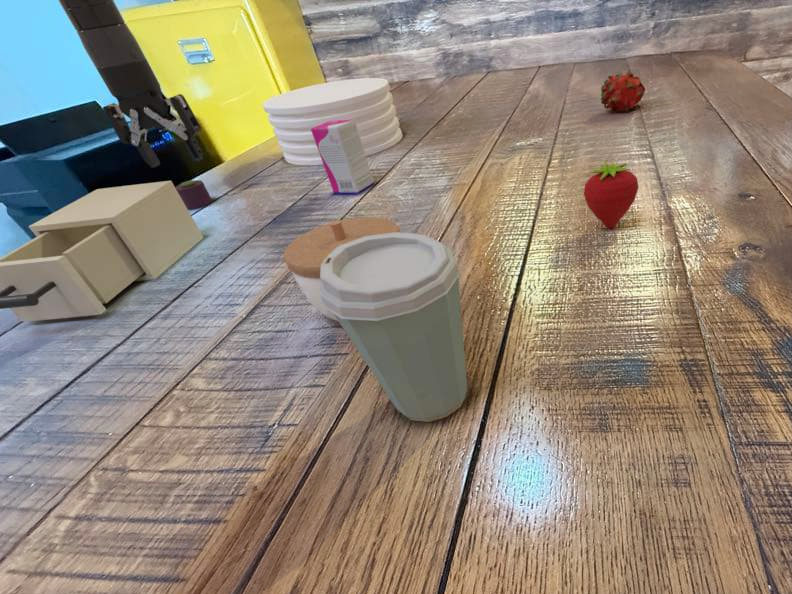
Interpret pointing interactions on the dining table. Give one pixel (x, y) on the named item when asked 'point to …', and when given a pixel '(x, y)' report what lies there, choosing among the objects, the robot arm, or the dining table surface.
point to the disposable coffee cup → (402, 318)
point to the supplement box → (343, 157)
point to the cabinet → (135, 222)
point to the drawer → (66, 273)
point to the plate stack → (333, 116)
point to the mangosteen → (194, 194)
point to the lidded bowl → (327, 251)
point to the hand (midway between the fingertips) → (177, 163)
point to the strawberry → (611, 193)
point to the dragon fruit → (622, 92)
